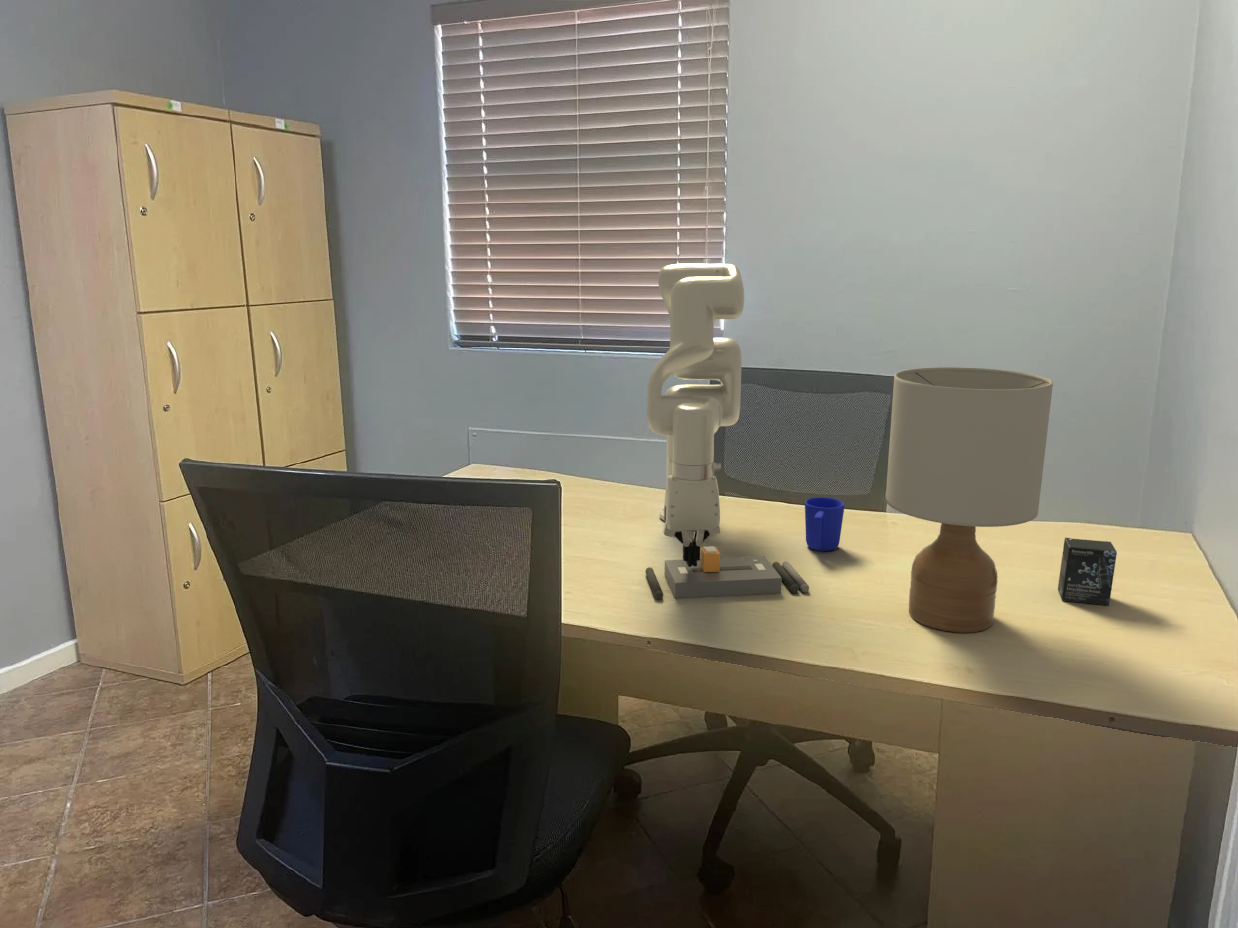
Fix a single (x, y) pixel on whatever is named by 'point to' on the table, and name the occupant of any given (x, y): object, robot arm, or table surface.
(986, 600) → the lamp
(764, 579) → the slider switch box
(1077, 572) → the box
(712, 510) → the robot arm
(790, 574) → the light grey rod
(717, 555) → the block
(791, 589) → the grey capsule
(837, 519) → the mug
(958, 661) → the table surface
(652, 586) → the dark grey rounded rod
